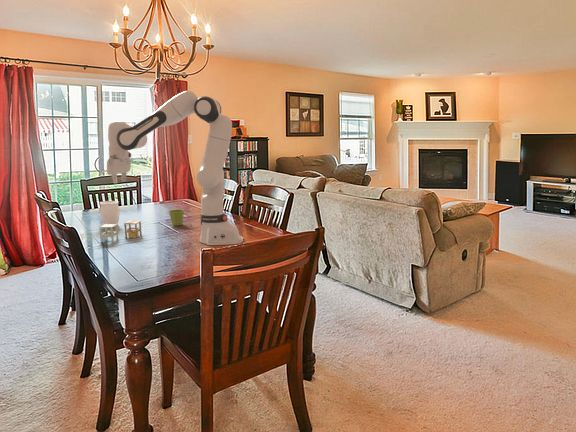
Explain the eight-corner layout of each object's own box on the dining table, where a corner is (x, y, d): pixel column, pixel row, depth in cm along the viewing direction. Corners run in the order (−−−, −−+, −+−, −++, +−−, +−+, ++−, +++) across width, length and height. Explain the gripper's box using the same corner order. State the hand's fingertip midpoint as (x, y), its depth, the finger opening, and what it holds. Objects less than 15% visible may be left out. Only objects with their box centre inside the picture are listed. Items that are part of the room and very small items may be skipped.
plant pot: (166, 226, 255) (165, 212, 254) (173, 223, 264) (172, 209, 263) (181, 226, 254) (180, 212, 252) (187, 223, 263) (187, 209, 261)
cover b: (118, 239, 225) (117, 224, 223) (113, 242, 218) (111, 226, 217) (106, 239, 225) (105, 224, 223) (100, 242, 219) (99, 226, 217)
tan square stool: (141, 235, 233) (140, 220, 232) (137, 238, 227) (136, 223, 225) (130, 235, 233) (129, 220, 232) (125, 238, 227) (124, 223, 226)
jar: (124, 226, 256) (122, 201, 253) (109, 229, 247) (106, 203, 245) (113, 224, 262) (111, 200, 259) (98, 227, 253) (95, 202, 250)
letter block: (138, 236, 232) (138, 228, 231) (135, 237, 228) (135, 230, 227) (131, 235, 232) (130, 228, 231) (128, 237, 228) (127, 230, 228)
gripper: (115, 155, 203) (116, 184, 206) (132, 153, 223) (133, 180, 226) (102, 155, 203) (104, 184, 206) (120, 153, 223) (121, 179, 226)
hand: (119, 182), depth 216 cm, fingers open, 8 cm apart
